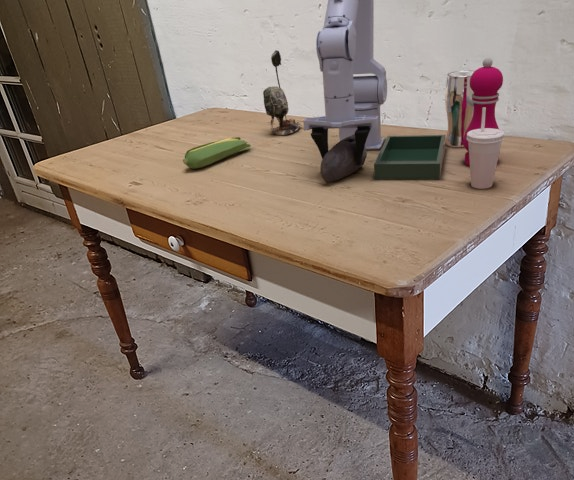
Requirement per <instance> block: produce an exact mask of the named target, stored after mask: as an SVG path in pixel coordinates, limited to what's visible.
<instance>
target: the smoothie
mask: <svg viewBox="0 0 574 480" xmlns="http://www.w3.org/2000/svg"><path fill="white" fill-rule="evenodd" d="M485 113H486V107H483V108H482V123H481V129H475V130H471V131H469V132H468V133H467V138H466V139H467V141H468V145H469V160H470V166H469V173H470V184H471V185H470V186H471V187H472V188H474V189H477V190H478V189H479V190H485V189H489V188H492V186H493V185H494V181H495V175H496V171H497V165H498V161H499V157H500V152H501V147H502V142H503V141H504V139H505V131H504V130H501V129H500V128H499V129H493V128H484V127H485Z"/></svg>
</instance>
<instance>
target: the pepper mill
mask: <svg viewBox="0 0 574 480" xmlns="http://www.w3.org/2000/svg"><path fill="white" fill-rule="evenodd" d="M473 71H474V73H473V74H472V75H471V78H470V88H471V89H472V91H473V92H474V94H472V100H471V102H472V103H474V111H473V117H472V120H471V122H470V124H469V126H468V128H467V130H466V132H465V135H464V140H463V145H464V147H463V148H464V149H465V150H466V151H467V152H465V153H464V164H465V165H466V166H469V167H470V160H469V145H468V141H467V139H466V138H467V133H468V132H469V131H471V130H475V129H481V123H482V108H483V107H486V113H485V127H484V128H493V129H499V130H500V127H499V125H498V123H497V119H496V105H497V102H499V101H500V99H499V96H500V93H499V91H500V89H501V88H502V87H503V85H504V76H503V75H504V74H503V73H502V71H501V70H500V69H499V68H497V67H496V66H493V59H492V58H491V57H486V58H484V59H483V61H482V67H479V68H477V69H475V70H473Z"/></svg>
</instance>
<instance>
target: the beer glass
mask: <svg viewBox="0 0 574 480" xmlns="http://www.w3.org/2000/svg"><path fill="white" fill-rule="evenodd" d="M474 71H475V70H470V69H469V70H468V69H467V70H456V71H455V70H454V71H450V72H448V73H447V74H446V82H445V92H444V101H445V103H444V105H445V112H446V113H445V114H446V119H447V134H446V137H445V146H447V147H451V148H465V147H464V145H463V140H464V135H465V132H466V130H467V128H468V126H469V124H470V122H471V120H472V117H473V111H474V103H472V102H471V100H472V94H474V92H473V91H472V89H471V88H470V78H471V75H472V74H473V73H474Z"/></svg>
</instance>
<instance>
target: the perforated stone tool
mask: <svg viewBox="0 0 574 480" xmlns="http://www.w3.org/2000/svg"><path fill="white" fill-rule="evenodd" d="M328 150H329V151H328V152H327V153H326V154H325V156H324V157H323V159H322V158H321V162H320V169H319V170H320V171H319V173H320V176H321V178H322V179H323V180H324V181H325V182H336V181H338V180H342V179H343V178H346V177H348V176H350V175H352V174H354V173H355V172H357V171H358V170H359V169H360V168H361V167H363V166H364V165H365V162H366V160H367V156H368V152H367V149H366V148H365V146H364V150H363V155H362V163H361V165H357V163H356V140H355V134H354V135H351V136H349V137H347V138H345V139H343V140H341V141H340V140H339V142H337V143H335V144H334V145H332V147H331V148H329V149H328Z"/></svg>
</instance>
